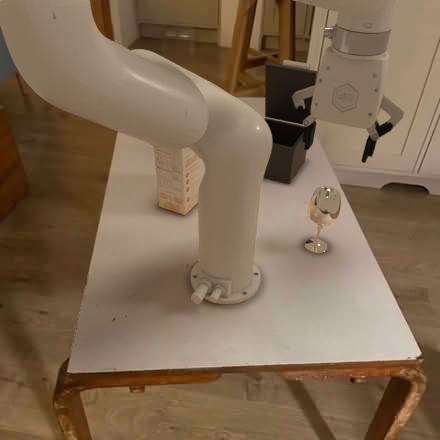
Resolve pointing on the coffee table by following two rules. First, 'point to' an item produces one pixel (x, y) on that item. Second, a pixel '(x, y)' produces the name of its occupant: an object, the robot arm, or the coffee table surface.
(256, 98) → the coffee table surface
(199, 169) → the coffeecake box
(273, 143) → the trash bin
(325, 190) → the wineglass
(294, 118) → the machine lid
